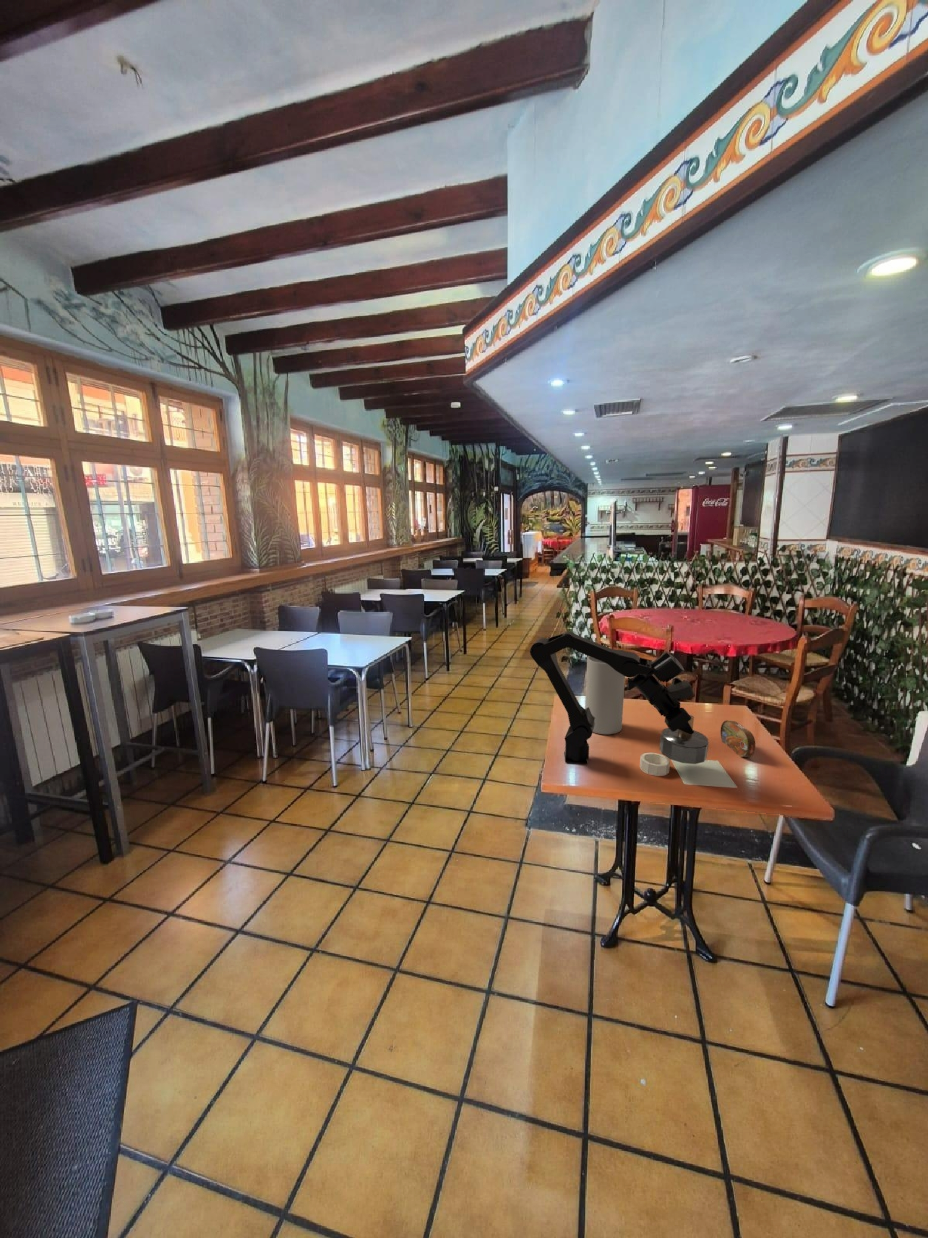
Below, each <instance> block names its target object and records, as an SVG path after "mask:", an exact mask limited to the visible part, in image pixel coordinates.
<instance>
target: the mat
mask: <svg viewBox="0 0 928 1238" xmlns="http://www.w3.org/2000/svg"><path fill="white" fill-rule="evenodd" d="M670 762H671V763H672V764H673V767H674V768H675V770H676V771H677V773H678V775H679V777H680V780H681V781H682V782H683V784H684V785H691V786H706V787H717V788H718V787H719V788H733V789H735V788H736V789H738V786H737V785H736V783H735V782H734V781H733V779H732V777H731V776H730V775H729V774H728V771H726V769H725V768H724V767H723V766H722V764H721V762H719V760H712V759H710V760H709V759H706V760H705V761H704V762H702V763H698V764H688V763H681V762H678V761H674V760H671V759H670Z"/></svg>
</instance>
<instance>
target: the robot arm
mask: <svg viewBox="0 0 928 1238" xmlns="http://www.w3.org/2000/svg"><path fill="white" fill-rule="evenodd" d="M567 648H568V649H572V650H573V651H576V652H579V653H581V654H583V655H586V656H587V657H588V656H590V657H592V658H595V659H597V660H600V661H602V662H605V663H606V664H608V665H609V666H610V667H612V668H613V669H614V670H615V671H617V672H619V673H620V674H622V675H623V676H625V678H626V680H627V684H626V685H627V690H628V691H632V690H633V689H634V688H636V689H637V690H638V691H639V693H640V694H641V695H642V696H643V697H644V698H645V699H646V700H647V701H648V703H649V704H650V705H651V706H653V707H654V708H655V710H656V711H657V712H658V713H659V715H660V716H663V717H664V723H665V725H666V726H667V728H669V729H670V730H671V731H672V732H674V731H676V730H677V729H679V730H681V731H684V732H686V733H689V734H693V733H694V731H695V730H694V729H692V728H691V726H690V724H689V723H688V721H689V720H691V718H692V717H691V716H690V715H691V714H690V713H689V712H688V711H687V710H686V709H685V708H684V707H681V702H680V701H682V700H685V699H689V698H693V697H694V696H695V693H694V691H693V688H692V685H691V683H689V681H688V680H685V679H683V680H682V679H681V678H680V677H678V676H679V675H680V674H681V673H683V672H685V669H684V666H683V665H682V663H681V662H680V661H679V660H678V659H677V658H676V657H675V656H673V655H672V654H671V653H669V652H668V651H667V650H666V651H664V652H662V654H661V655H660V656H659V657H657V658H656V659H654V660H651V659H648V658H644V657H640V656H639V655H638V654H637V653H636V652H631V651H627V650H624V649H623V650H622V649H614V648H611V647H608V646H605V645H603V644H600V643H597V642H596V641H593V640H590V639H588V638H585V637H583V636H581V635H578V634H576V633H574V632H572V631H569V630H568V631H565V632H562V633H560V634H557V635H554V636H550V637H548V638H546V637H541V638H538V639H537V640H536V641H535V642H534V643H533V644H532V645H531V647H530V649H529V655H530V657H531V658H532V659H533V660H534V662H535V663H536V665H537V666H538V667H539V668H541V669H542V670H543V671H544V673H546V676H547V677H548V680H549V681H550V683H551V685H552V686H553V688H554V691H555V692H556V694H557V696H558V698H559V700H560V702H561V704H562V706H563V707H564V710H565V712H567V718H568V723H569V726H568V729H567V731H566V734H565V736H564V741H565V743H564V745H565V746H564V752H563V753H564V754H563V755H564V762H565V764H566V763H567V764H579V765H581V764H583V765H588V760H589V759H590V758H589V757H590V756H589V755H590V744H589V742H588V740H589V739H591V738H592V735H593V733H594V732H593V729H594V726H595V722H594V720H595V717H594V716H593V715H592V714H591V711H590V709H589V707H588V708H586V709H585V707H583V706H582V705H581V704H580V702H579V700H578V699H577V697H576V695H575V693H574V691H573V690H572V689H573V688H572V687H571V685H570V684H569V682H568V680H567V678H566V676H565V674H564V673H563V671H562V669H561V666H560V665H559V662H558V658H557V653H559V652H560V651H562V650H564V649H567ZM670 681H671V684H670V685H669V686H666V685H665V684H662V683H661V682H663V683H664V682H665V683H668V682H670ZM693 730H694V731H693Z"/></svg>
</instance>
